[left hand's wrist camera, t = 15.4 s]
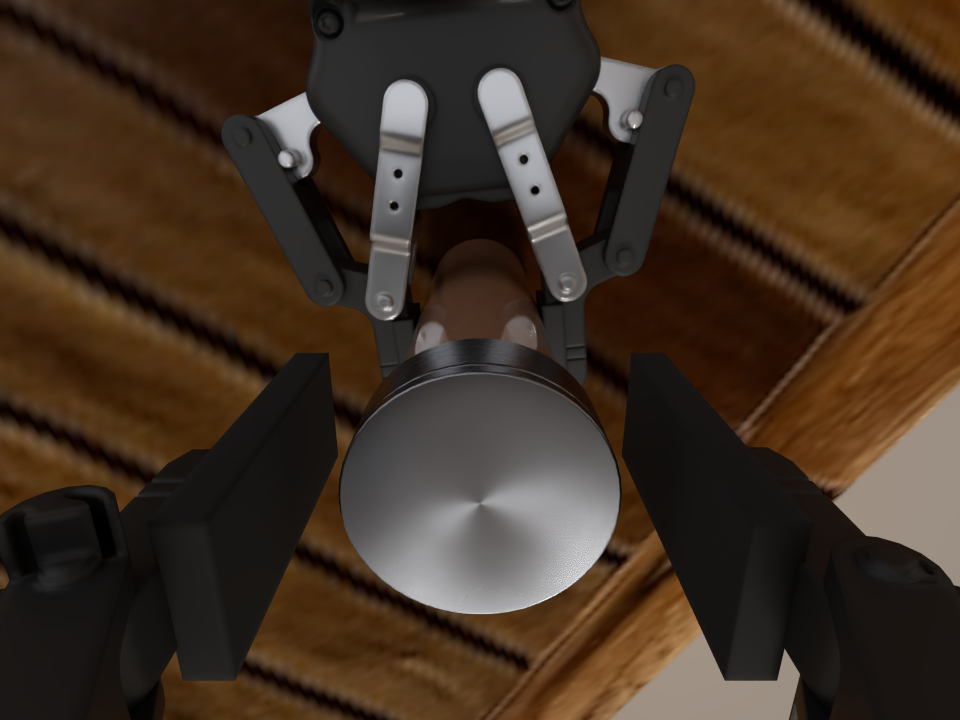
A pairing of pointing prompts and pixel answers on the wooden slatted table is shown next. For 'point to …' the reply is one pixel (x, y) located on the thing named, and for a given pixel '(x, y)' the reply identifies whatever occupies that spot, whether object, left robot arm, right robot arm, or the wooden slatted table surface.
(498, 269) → the brown cylindrical rod
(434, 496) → the lid
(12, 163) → the wooden slatted table surface
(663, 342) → the wooden slatted table surface
